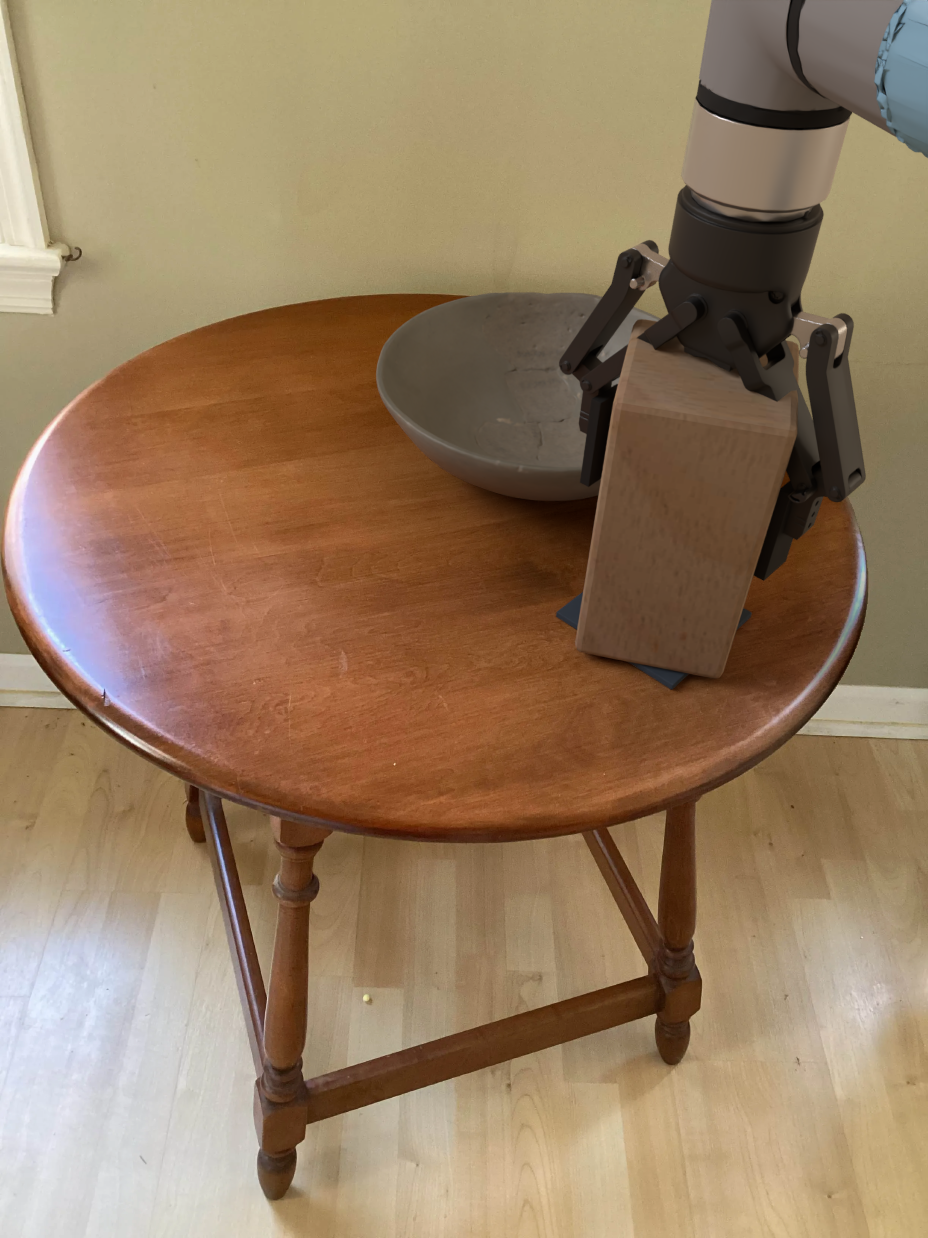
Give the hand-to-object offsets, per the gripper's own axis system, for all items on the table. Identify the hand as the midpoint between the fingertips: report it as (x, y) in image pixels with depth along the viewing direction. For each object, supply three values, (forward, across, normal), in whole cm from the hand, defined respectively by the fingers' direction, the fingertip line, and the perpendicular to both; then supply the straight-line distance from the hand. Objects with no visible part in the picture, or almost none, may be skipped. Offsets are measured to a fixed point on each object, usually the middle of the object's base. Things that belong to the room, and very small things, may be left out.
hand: (678, 520), depth 68 cm
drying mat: (+9, 0, 0) cm, 9 cm away
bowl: (+9, +19, -10) cm, 24 cm away
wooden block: (+8, 0, 0) cm, 9 cm away
